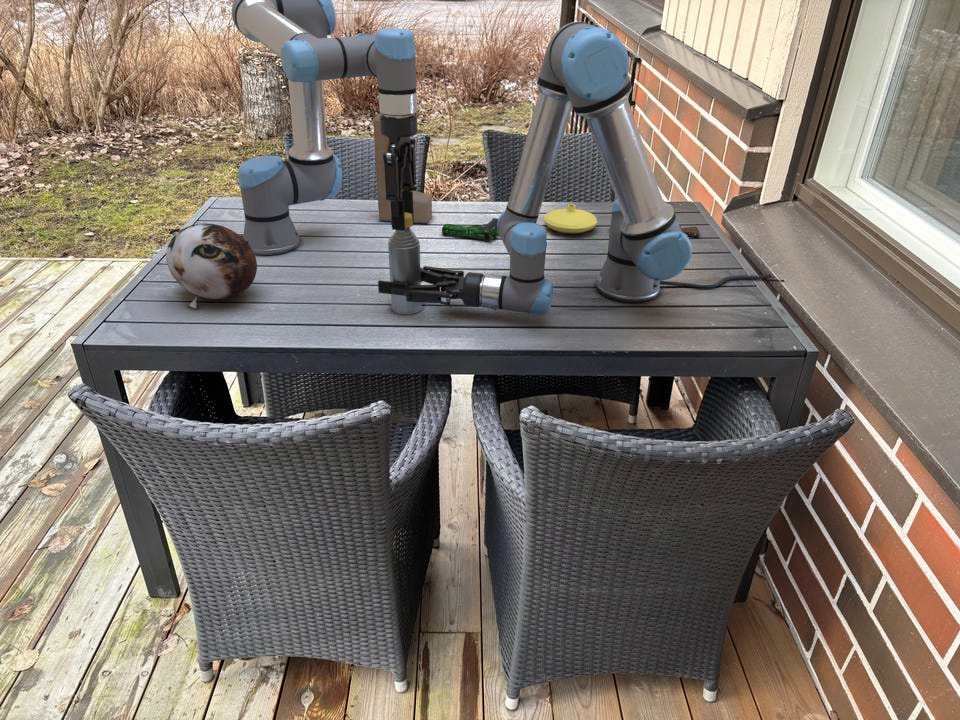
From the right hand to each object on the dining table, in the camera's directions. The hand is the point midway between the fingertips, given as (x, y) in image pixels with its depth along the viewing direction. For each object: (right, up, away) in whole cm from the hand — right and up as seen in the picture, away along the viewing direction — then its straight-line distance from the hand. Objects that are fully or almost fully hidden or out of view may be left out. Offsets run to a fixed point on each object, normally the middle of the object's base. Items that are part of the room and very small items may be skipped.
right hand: (384, 279), depth 163 cm
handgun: (+21, +19, +45) cm, 53 cm away
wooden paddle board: (+73, +18, +46) cm, 88 cm away
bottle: (+5, -6, +2) cm, 8 cm away
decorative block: (-1, +24, +54) cm, 59 cm away
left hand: (+5, +11, -8) cm, 14 cm away
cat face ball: (-40, -3, +6) cm, 41 cm away
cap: (+5, +13, -9) cm, 16 cm away
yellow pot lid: (+48, +20, +48) cm, 71 cm away
